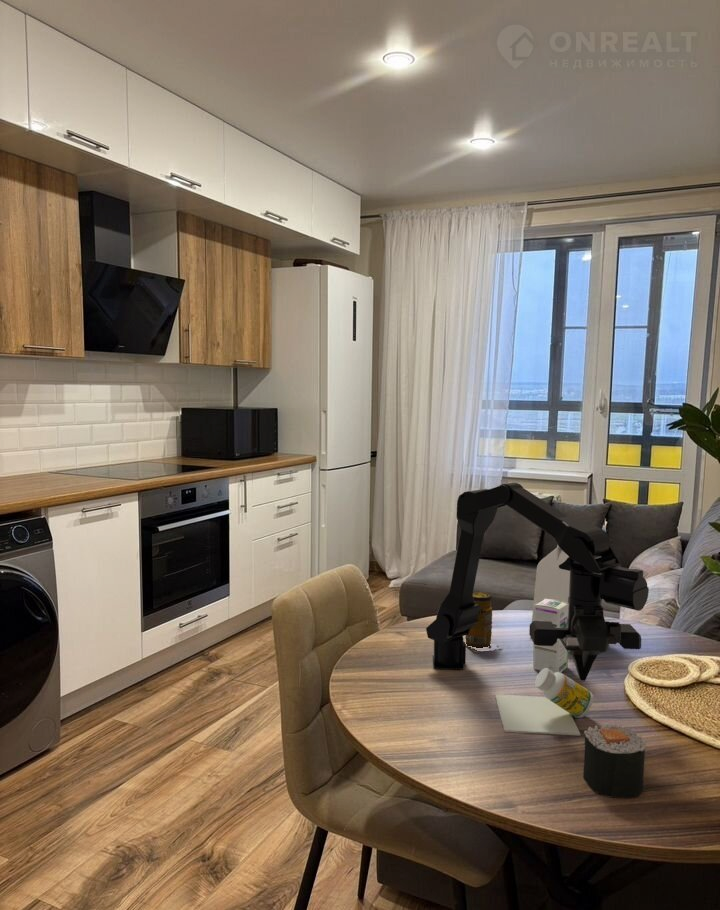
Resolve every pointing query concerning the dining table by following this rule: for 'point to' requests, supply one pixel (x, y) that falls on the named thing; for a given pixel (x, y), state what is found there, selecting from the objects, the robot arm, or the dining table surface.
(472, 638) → the condiment
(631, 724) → the dining table surface
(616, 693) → the dining table surface
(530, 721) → the mat
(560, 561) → the milk
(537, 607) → the syrup box
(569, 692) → the supplement bottle
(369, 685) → the dining table surface
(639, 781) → the sushi
